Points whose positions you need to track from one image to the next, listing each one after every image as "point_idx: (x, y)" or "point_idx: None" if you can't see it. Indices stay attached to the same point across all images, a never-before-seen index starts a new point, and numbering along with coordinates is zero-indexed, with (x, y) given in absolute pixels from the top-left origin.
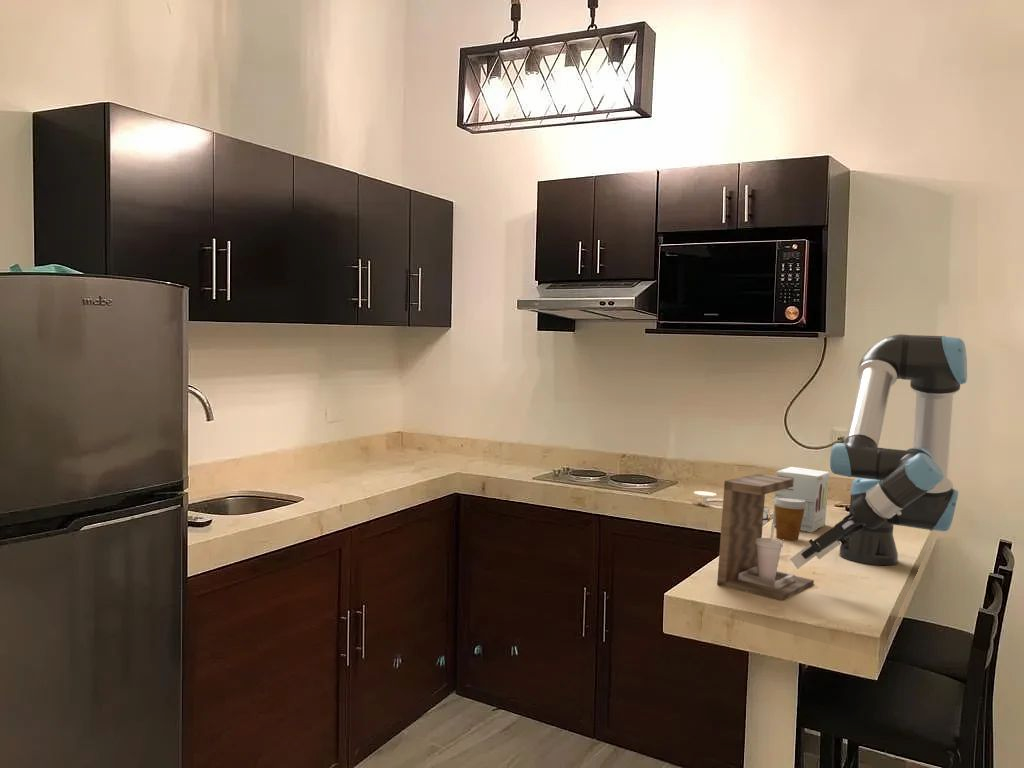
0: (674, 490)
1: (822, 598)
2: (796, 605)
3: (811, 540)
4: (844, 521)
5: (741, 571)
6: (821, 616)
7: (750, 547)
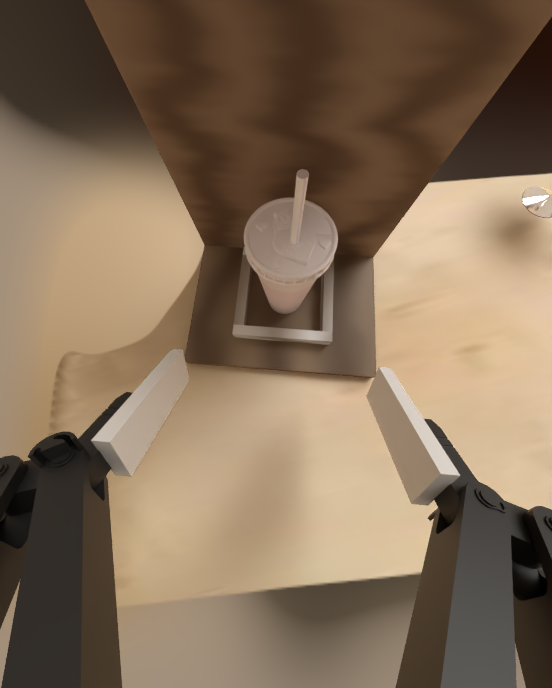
0: None
1: (269, 426)
2: None
3: (34, 456)
4: None
5: None
6: None
7: (331, 206)
